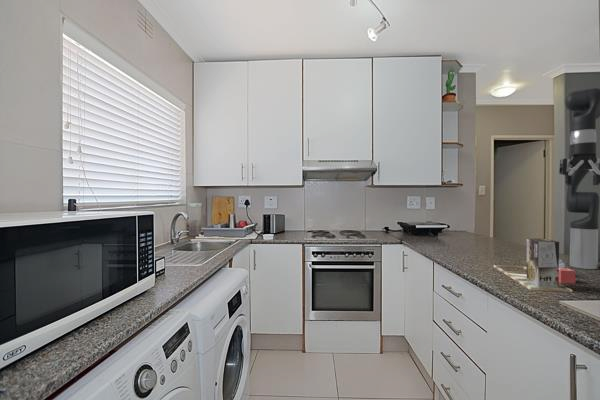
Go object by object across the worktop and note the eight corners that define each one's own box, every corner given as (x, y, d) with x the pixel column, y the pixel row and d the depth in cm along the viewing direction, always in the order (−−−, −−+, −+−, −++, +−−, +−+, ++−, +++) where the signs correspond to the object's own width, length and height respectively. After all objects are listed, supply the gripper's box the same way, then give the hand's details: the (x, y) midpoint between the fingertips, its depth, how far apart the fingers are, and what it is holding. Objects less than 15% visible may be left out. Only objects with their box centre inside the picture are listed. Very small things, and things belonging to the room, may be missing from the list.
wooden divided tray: (493, 266, 142) (493, 265, 142) (524, 268, 139) (524, 266, 139) (529, 289, 108) (529, 287, 108) (572, 292, 105) (572, 289, 105)
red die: (554, 279, 121) (554, 267, 121) (568, 280, 120) (568, 268, 120) (560, 282, 117) (560, 270, 117) (575, 283, 115) (575, 270, 115)
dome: (536, 265, 133) (537, 254, 133) (558, 266, 131) (558, 255, 131) (546, 269, 126) (546, 257, 126) (568, 270, 124) (568, 258, 124)
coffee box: (559, 289, 107) (560, 241, 107) (537, 288, 109) (538, 241, 109) (545, 282, 116) (546, 238, 116) (525, 281, 118) (526, 237, 118)
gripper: (598, 143, 124) (598, 185, 124) (555, 145, 127) (555, 185, 128) (612, 140, 116) (611, 184, 117) (566, 142, 120) (566, 185, 120)
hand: (582, 185), depth 122 cm, fingers open, 8 cm apart
